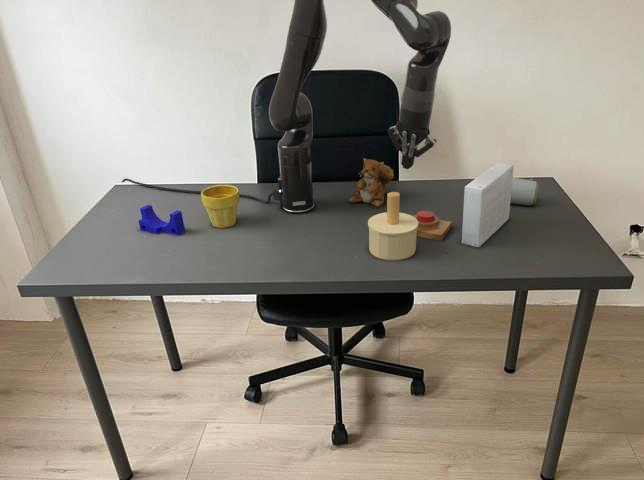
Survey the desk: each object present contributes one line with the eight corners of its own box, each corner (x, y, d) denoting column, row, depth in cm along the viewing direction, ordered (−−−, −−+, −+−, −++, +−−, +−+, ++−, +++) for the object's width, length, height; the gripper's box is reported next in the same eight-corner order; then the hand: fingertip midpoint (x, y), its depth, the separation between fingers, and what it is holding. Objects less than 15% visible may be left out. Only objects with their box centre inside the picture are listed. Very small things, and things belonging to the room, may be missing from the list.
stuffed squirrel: (347, 203, 166) (346, 161, 159) (370, 188, 176) (370, 149, 170) (376, 210, 161) (376, 167, 155) (397, 194, 172) (398, 153, 165)
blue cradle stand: (140, 230, 153) (136, 210, 150) (151, 224, 156) (147, 204, 153) (174, 237, 148) (170, 217, 145) (185, 230, 152) (181, 211, 149)
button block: (398, 233, 147) (398, 221, 146) (410, 220, 154) (410, 208, 153) (441, 240, 143) (442, 228, 141) (451, 227, 150) (452, 215, 148)
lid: (359, 232, 134) (359, 199, 129) (379, 213, 143) (379, 181, 139) (407, 241, 129) (409, 207, 124) (425, 221, 139) (426, 188, 134)
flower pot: (249, 218, 158) (245, 186, 153) (231, 232, 150) (226, 199, 145) (218, 213, 161) (213, 182, 156) (198, 228, 153) (193, 195, 148)
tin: (361, 254, 137) (361, 229, 134) (380, 235, 146) (380, 211, 143) (406, 264, 132) (406, 238, 129) (421, 243, 142) (423, 219, 138)
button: (415, 221, 146) (415, 215, 145) (420, 215, 150) (420, 209, 149) (430, 224, 145) (431, 218, 144) (435, 218, 148) (436, 212, 147)
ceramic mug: (535, 209, 159) (539, 184, 155) (506, 206, 161) (509, 182, 157) (536, 197, 167) (540, 173, 164) (508, 194, 170) (512, 170, 166)
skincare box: (490, 215, 156) (497, 161, 148) (509, 219, 153) (516, 165, 145) (458, 243, 141) (464, 185, 134) (478, 248, 139) (485, 189, 131)
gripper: (449, 105, 128) (436, 169, 140) (398, 90, 133) (390, 153, 144) (436, 117, 123) (424, 182, 135) (384, 101, 128) (377, 165, 139)
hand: (406, 167), depth 140 cm, fingers closed
